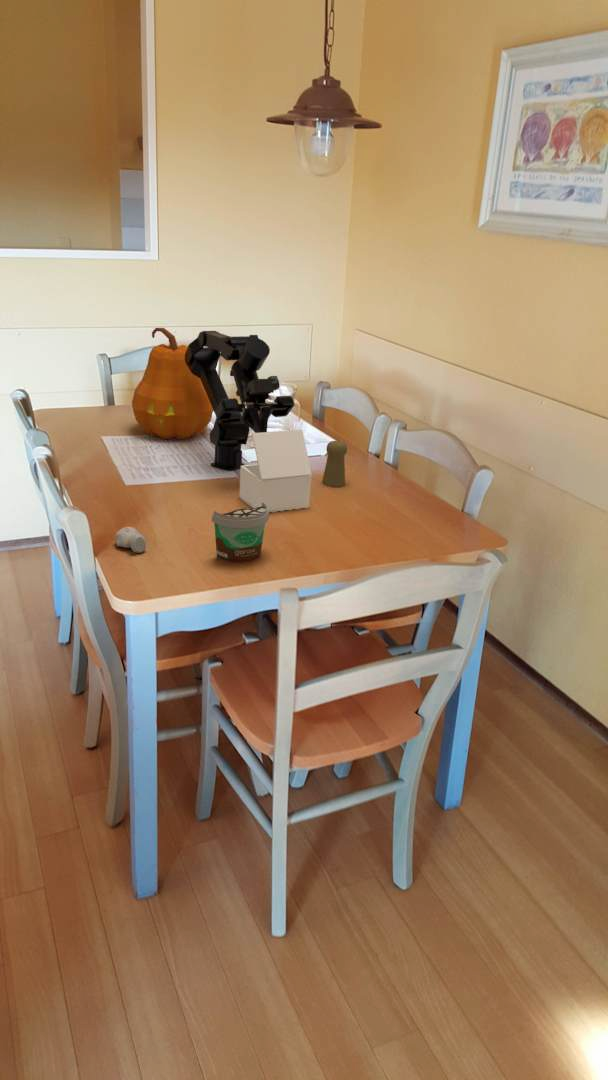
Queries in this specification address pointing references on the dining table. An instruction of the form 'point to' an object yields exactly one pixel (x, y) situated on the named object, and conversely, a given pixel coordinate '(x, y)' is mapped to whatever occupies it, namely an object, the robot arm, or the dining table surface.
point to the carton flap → (281, 454)
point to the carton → (274, 490)
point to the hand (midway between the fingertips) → (264, 439)
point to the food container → (240, 534)
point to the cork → (335, 464)
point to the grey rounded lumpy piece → (131, 539)
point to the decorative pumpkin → (170, 394)
